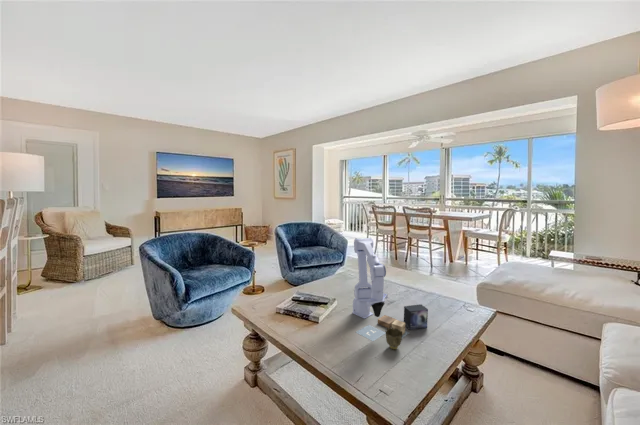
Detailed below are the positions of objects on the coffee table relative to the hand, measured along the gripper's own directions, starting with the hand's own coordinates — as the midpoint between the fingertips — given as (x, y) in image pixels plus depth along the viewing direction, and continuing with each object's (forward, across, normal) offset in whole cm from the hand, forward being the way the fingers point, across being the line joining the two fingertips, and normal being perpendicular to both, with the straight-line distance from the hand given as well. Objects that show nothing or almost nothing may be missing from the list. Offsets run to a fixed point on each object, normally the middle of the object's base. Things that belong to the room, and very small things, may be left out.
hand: (377, 316), depth 135 cm
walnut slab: (+10, +13, +3) cm, 17 cm away
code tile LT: (+10, 0, +3) cm, 10 cm away
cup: (+10, -3, -12) cm, 16 cm away
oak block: (+10, +10, -6) cm, 15 cm away
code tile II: (+10, +10, -6) cm, 15 cm away
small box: (+10, +22, -9) cm, 25 cm away
